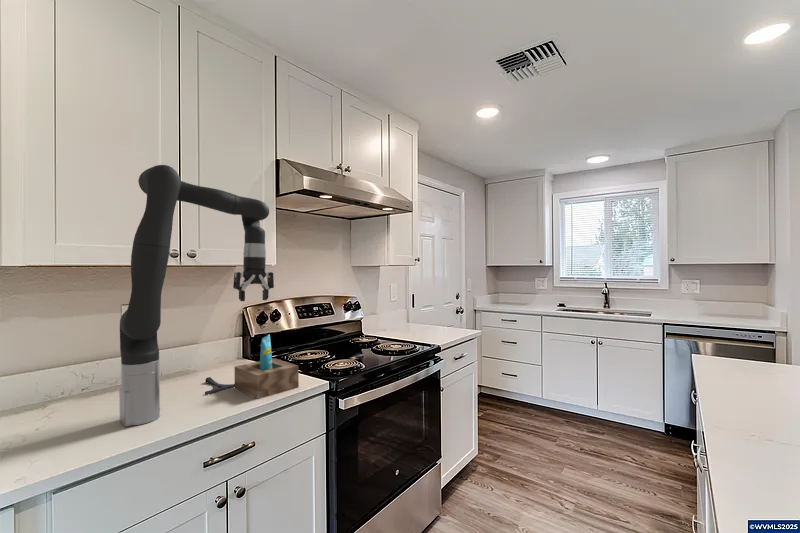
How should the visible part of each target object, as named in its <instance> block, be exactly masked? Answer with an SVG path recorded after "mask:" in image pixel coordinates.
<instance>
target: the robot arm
mask: <svg viewBox="0 0 800 533" xmlns="http://www.w3.org/2000/svg"><path fill="white" fill-rule="evenodd" d="M138 186H139V188H140V190H141V191H142V192H143V193H144V194H145V195H146V203H145V209H144V211H143V212H144V213H143V215H142V217H141V219H140V222H139V224H138V226H137V228H136V231H135V234H134V237H133V240H132V241H133V242H132V248H131V249H132V250H131V255H130V277H131V290H130V291H131V292H130V297H129V301H128V306H127V310H125V311H124V312H123V314H122V315H121V316H120V320H119V349H120V363H121V364H120V365H121V374H120V376H121V388H119V422H120V423H121V424H122V425H123V426H124V427H130V426H138V425H139V426H140V425H144V424H148V423H151V422H153V421H155V420H158V419H159V418H160V416H161V415H160V414H161V413H160V412H161V407H160V406H161V405H160V401H161V400H160V396H161V395H160V349H159V345H158V343H159V342H158V330H160V327H161V323H162V322H161V320H162V319H161V316H162V315H161V314H162V313H161V312H162V310H161V309H162V308H161V307H162V292H163V287H164V283H165V282H164V281H165V278H166V272H167V268H168V262H169V258H170V251H171V240H172V234H173V233H172V232H173V225H174V224H173V221H174V214H175V209H176V207H177V206H176V205H177V202H178V201H179V202H184V203H189V204H193V205H196V206H200V207H204V208H208V209H211V210H214V211H218V212H222V213H224V214H228V215H234V216H235V215H236V216H238V215H239V216H241V221H242V226H243V230H244V245H243V262H242V263H243V266H242V269H243V271H242V272H240V271H235V272H234V273H233V284H232V285H233V286H232V287H233V289H234V290H237V291H238V299H239V302H245V301H246V289H247V287H248V286H249V285H259V286H261V288H262V301H267V300H268V299H269V295H270V294H269V293H270V292H269V291H270V289H274V288H275V287H274V286H275V284H274V280H275V279H274V272H272V271H268V272H266V260H267V258H266V255H267V254H266V252H267V251H266V231H265V229H264V228H262V227H261V224H260V221H263V220H264V221H265V219H267V218H268V217H269V215H270V209H269V206H268V205H267V204H266V202H265V201H262V200H259V199H257V198H252V197H245V196H239V195H237V194H235V193H232V192H228V191H224V190H222V189H218V188H214V187H213V188H212V187H206V186H201V185H197V184H192V183H188V182H185V181H182V180H181V178H180V175H179V173H178V172H177V170H175V169H174V167H172V166H170V165H167V164H157V165H154V166H151V167H149V168H148V169H145V170H143V172H141V173H140V175H139V177H138ZM242 278H243V279H242ZM265 278H266V279H267V280H265ZM241 279H242V280H243V281H242V282H241Z"/></svg>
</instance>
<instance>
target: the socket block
mask: <svg viewBox="0 0 800 533" xmlns="http://www.w3.org/2000/svg"><path fill="white" fill-rule="evenodd" d="M299 375H300V374H299V365H298V364H294V363H291V362H288V361H284V360H281V359H278V358H273V357H272V369H269V370H265V371H262V370H260V360H259V361H256V362H249V363H245V364H244V363H243V364H241V365H235V366H234V384H235V388H234V389H236V390H237V391H240V392H242V393H244V394H246V395H248V396H250V395H251V396H250V397H252V396H253V397H252V398H255V399H257V400H258V399H262V397H263V398H266V397H269V396H273V395H275V394H276V393H277V394H280V393H283V392H286V391H290V390H294V389H297V388H299V386H300V385H299V382H300V381H299Z"/></svg>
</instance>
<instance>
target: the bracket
mask: <svg viewBox="0 0 800 533" xmlns="http://www.w3.org/2000/svg"><path fill="white" fill-rule="evenodd" d="M207 382H208V383H209V384H208V383H207ZM205 383H206V384H208V385H210V384H211V385H210V386H212V389H209V390H207V391H204V395H206V396H209V395H212V393H213V394H216V392H217V393H220V392H223V391H226V390H230V389H235V388H234V387H235V383H232V384H225V383H223V384H222V383H218V382H217V381H215V380H214V379H213V378H212V377H210V376H209V377H206V378H205ZM208 394H209V395H208Z"/></svg>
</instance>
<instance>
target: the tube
mask: <svg viewBox="0 0 800 533" xmlns="http://www.w3.org/2000/svg"><path fill="white" fill-rule="evenodd" d="M271 341H272V340H271V335H270V333H269V334H267V335H266V336H264V337H262V338H261V342H260V354H259V355H260V356H259V361H260V370H262V371H265V370H269V369H272V359H273V355H272V342H271Z"/></svg>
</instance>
